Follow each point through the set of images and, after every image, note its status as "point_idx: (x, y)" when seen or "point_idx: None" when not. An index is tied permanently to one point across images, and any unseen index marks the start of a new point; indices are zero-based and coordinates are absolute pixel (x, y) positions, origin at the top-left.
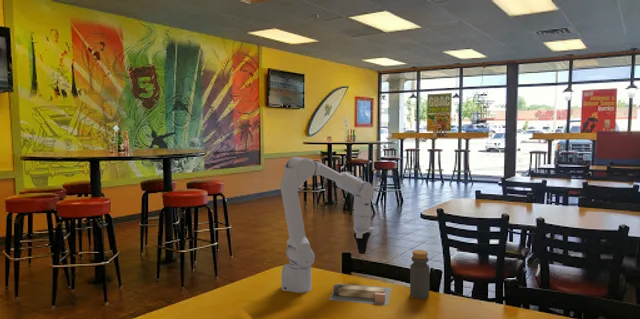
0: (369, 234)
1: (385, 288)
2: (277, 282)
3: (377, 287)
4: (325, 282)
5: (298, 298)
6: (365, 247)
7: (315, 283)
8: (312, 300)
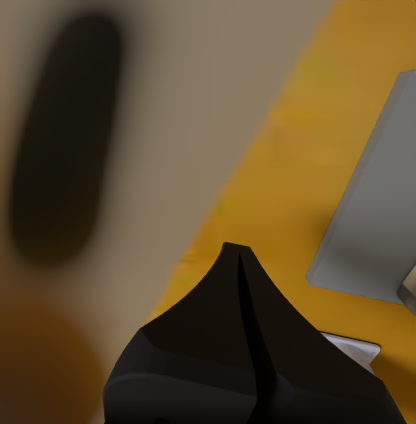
0: (252, 390)
1: (411, 105)
2: None
3: (385, 145)
4: None
5: (376, 361)
6: (269, 279)
7: None
8: (402, 337)
